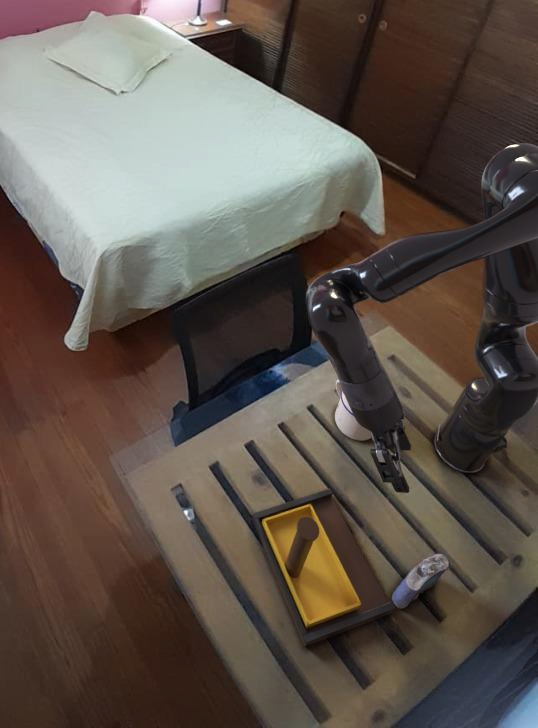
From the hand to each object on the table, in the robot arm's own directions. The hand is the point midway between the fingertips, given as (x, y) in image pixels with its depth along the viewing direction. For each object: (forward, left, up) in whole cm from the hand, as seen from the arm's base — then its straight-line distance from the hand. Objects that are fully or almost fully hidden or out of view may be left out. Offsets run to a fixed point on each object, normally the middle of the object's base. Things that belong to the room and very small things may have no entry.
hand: (404, 469), depth 90 cm
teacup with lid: (-8, -20, -21) cm, 30 cm away
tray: (+16, +3, -20) cm, 26 cm away
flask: (0, +11, -21) cm, 24 cm away
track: (+14, +3, -21) cm, 25 cm away
